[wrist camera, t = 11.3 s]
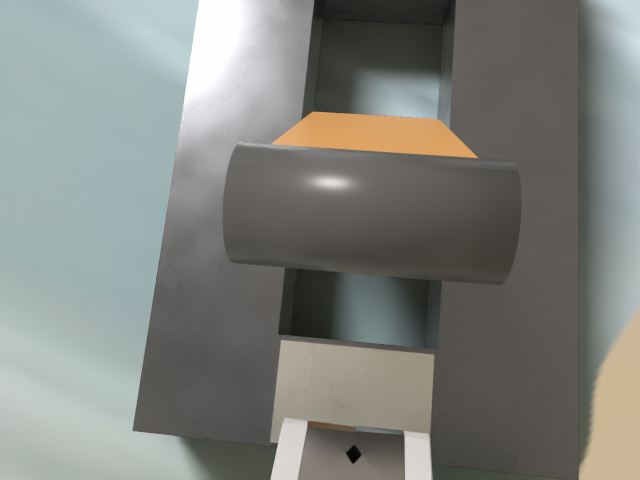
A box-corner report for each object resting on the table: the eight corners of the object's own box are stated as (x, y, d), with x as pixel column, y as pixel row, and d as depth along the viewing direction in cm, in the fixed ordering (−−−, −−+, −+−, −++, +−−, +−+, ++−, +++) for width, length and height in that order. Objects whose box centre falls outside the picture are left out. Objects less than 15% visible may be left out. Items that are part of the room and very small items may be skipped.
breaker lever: (439, 177, 22) (506, 306, 11) (303, 167, 23) (223, 281, 11) (447, 111, 21) (530, 173, 10) (305, 103, 22) (221, 152, 10)
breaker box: (540, 459, 23) (583, 483, 19) (168, 418, 24) (128, 432, 20) (546, -41, 28) (581, -114, 23) (236, -53, 29) (215, -124, 25)
